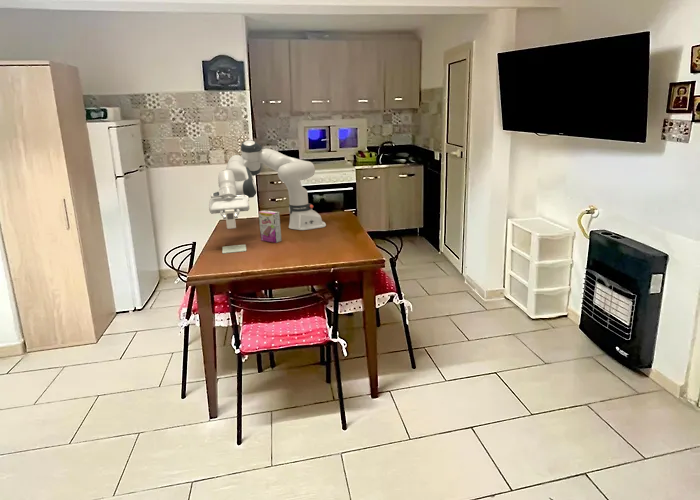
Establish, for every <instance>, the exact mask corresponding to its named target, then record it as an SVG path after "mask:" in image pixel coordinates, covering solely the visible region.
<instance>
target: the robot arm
mask: <svg viewBox="0 0 700 500" xmlns="http://www.w3.org/2000/svg"><path fill="white" fill-rule="evenodd" d="M240 150H241V151H240V154H241V155H239V154H235V155H232V156H230V158H229V159H228V162H227V163H226V169H224V170H220V171H219V172H218V179H217V180H218V181H217V182H218V183H217V184H218V188H219V190H217V191H215V192H212V193H210V199H209V204H208V206H209V207H208V210H209V213H210V214H211V215H214V214H220V216H221V217H222V219H223V220H226V215H225V210H230V209H234V213H235V219H238V217H239V214H240V212H248V211H249V210H250V203H249V201H250V198H254V197H255V196H256V195H257V185H256V184H255V181H254V176H257V175H259V174H260V173H261V171H262V170H261V169H262V167H261V165H262V164H263V165H265V166H266V167H268V168H269V169H271V170H272V171H275V172H277V176H278V179H279V180H280V181H281V182H282V183H283V184H284V185H285V187H286V189H287V192H288V199H289V204H288V212H289V224H288V228H289V229H291V230H298V231H306V230H307V231H308V230H315V229H320V228H325V227H326V226H327V224H326V222H325V221H324V220H323V219H322V216H321V215H320V213H318V212H317V211H316V210H313V208H314V205H313V204H312V203H309V196H308V189H306V188H305V187H304V186H303V185H302V183H301V181H302V180H304V181H305V180H308V179H310V178H312V177H314V175H315V172H316V168H315V165H314V163H313V162H312V161H309V160H304V159H299V158H296V157H291V156H288V155H286V154H283V153H281V152H279V151H278V150H275V149H272V148H264V149H263V147H262V145H261V144H259V143H258V142H257V141H255V140H251V139H249V140H245V141H243V142H242V143H241V145H240Z"/></svg>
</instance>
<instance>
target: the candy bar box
mask: <svg viewBox="0 0 700 500" xmlns="http://www.w3.org/2000/svg"><path fill="white" fill-rule="evenodd" d="M257 213H258V221H259V222H258V223H259V225H258V226H259V233H260V241H261V242H267V243H275V244H277V243H279V242H282V239H283V238H282V229H281V217H280V216H281V215H280V211H272V210H261V211H258V212H257Z"/></svg>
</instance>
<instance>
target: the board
mask: <svg viewBox="0 0 700 500" xmlns="http://www.w3.org/2000/svg"><path fill="white" fill-rule="evenodd" d="M241 252H247V245H246V244H234V245H227V246H222V254H232V253H241Z"/></svg>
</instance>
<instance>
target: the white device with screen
mask: <svg viewBox="0 0 700 500" xmlns="http://www.w3.org/2000/svg"><path fill="white" fill-rule="evenodd" d="M235 214H236V212H234V209H230V210H225V213H224V215H226V219H225V221H226V222H225V223H226V228H227V230H228V229H229V230H230V229H237V224H236V218H235Z"/></svg>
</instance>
